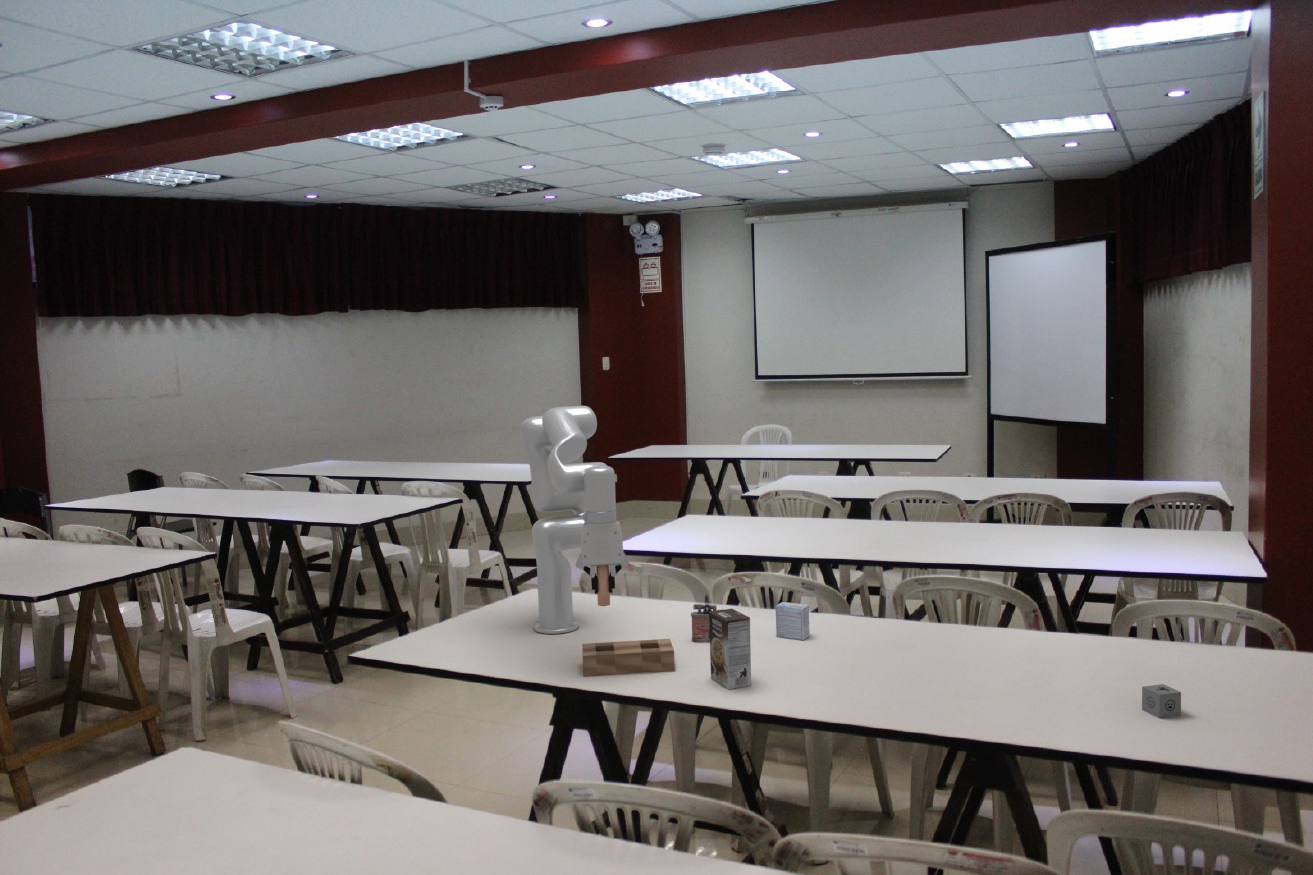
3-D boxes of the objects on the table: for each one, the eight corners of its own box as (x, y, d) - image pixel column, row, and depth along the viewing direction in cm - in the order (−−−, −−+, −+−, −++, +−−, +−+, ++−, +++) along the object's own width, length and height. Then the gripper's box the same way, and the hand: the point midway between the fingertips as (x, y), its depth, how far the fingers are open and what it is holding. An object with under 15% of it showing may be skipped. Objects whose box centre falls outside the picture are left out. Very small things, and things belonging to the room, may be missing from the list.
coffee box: (709, 678, 229) (707, 611, 227) (733, 674, 231) (732, 607, 230) (727, 690, 220) (725, 620, 219) (752, 685, 223) (750, 616, 222)
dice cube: (1180, 716, 197) (1181, 692, 196) (1159, 718, 196) (1159, 694, 195) (1162, 707, 202) (1163, 684, 201) (1141, 710, 201) (1142, 686, 200)
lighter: (722, 638, 260) (721, 602, 259) (721, 642, 256) (720, 605, 256) (692, 638, 261) (691, 602, 260) (691, 642, 257) (690, 605, 256)
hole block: (582, 663, 243) (582, 643, 242) (670, 658, 245) (669, 638, 244) (583, 676, 233) (582, 656, 232) (674, 671, 235) (674, 650, 234)
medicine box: (810, 636, 259) (809, 604, 258) (803, 641, 255) (802, 608, 255) (783, 632, 263) (782, 601, 263) (775, 637, 260) (775, 605, 259)
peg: (597, 603, 238) (596, 563, 238) (609, 602, 239) (608, 562, 238) (598, 606, 235) (596, 565, 235) (610, 605, 236) (608, 565, 235)
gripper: (566, 521, 231) (569, 597, 232) (635, 518, 232) (638, 594, 234) (566, 516, 238) (569, 590, 240) (633, 513, 240) (635, 586, 241)
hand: (603, 591), depth 237 cm, fingers closed on peg, 3 cm apart
